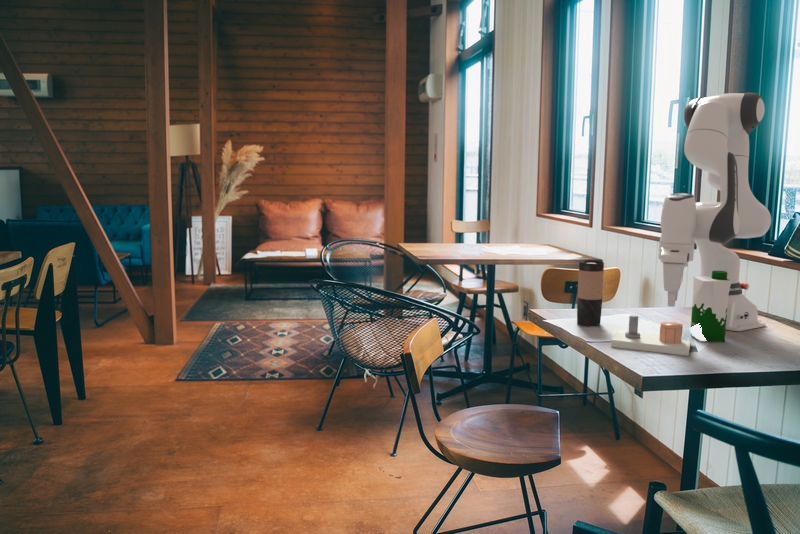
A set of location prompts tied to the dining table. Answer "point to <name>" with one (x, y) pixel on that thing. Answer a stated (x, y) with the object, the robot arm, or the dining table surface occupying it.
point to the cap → (671, 332)
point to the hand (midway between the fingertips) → (672, 303)
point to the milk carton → (711, 305)
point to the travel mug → (590, 293)
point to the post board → (646, 341)
